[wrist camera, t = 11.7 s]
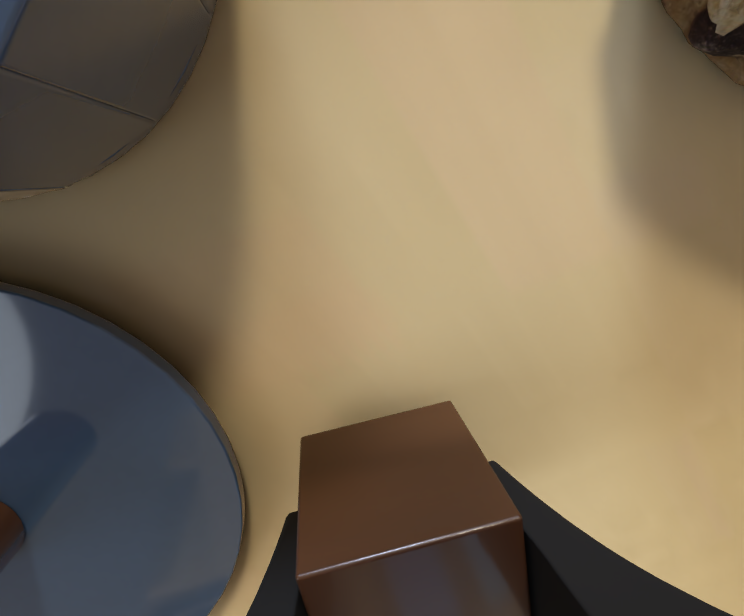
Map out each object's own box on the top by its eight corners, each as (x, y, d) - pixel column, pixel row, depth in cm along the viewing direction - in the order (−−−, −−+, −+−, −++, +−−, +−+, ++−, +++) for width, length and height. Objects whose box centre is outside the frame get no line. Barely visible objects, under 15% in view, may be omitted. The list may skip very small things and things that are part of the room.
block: (333, 552, 13) (344, 726, 9) (299, 436, 12) (294, 579, 8) (468, 516, 13) (538, 669, 9) (450, 399, 12) (523, 517, 8)
